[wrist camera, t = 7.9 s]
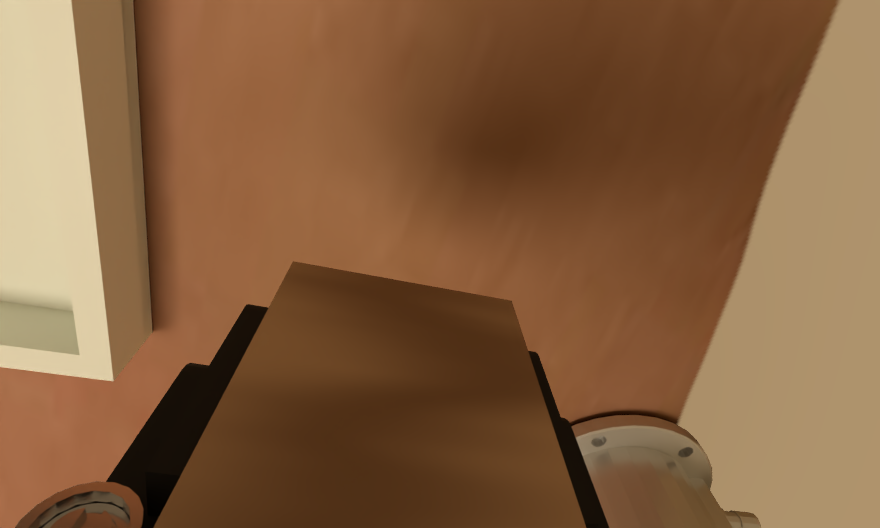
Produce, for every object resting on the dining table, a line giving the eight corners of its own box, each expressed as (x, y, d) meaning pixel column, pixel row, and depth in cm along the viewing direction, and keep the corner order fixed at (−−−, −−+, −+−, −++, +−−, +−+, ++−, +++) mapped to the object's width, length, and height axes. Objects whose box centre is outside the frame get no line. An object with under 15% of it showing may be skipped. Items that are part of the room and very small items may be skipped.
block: (511, 300, 10) (617, 622, 5) (459, 451, 12) (492, 800, 7) (293, 260, 9) (126, 578, 4) (275, 427, 11) (148, 789, 6)
